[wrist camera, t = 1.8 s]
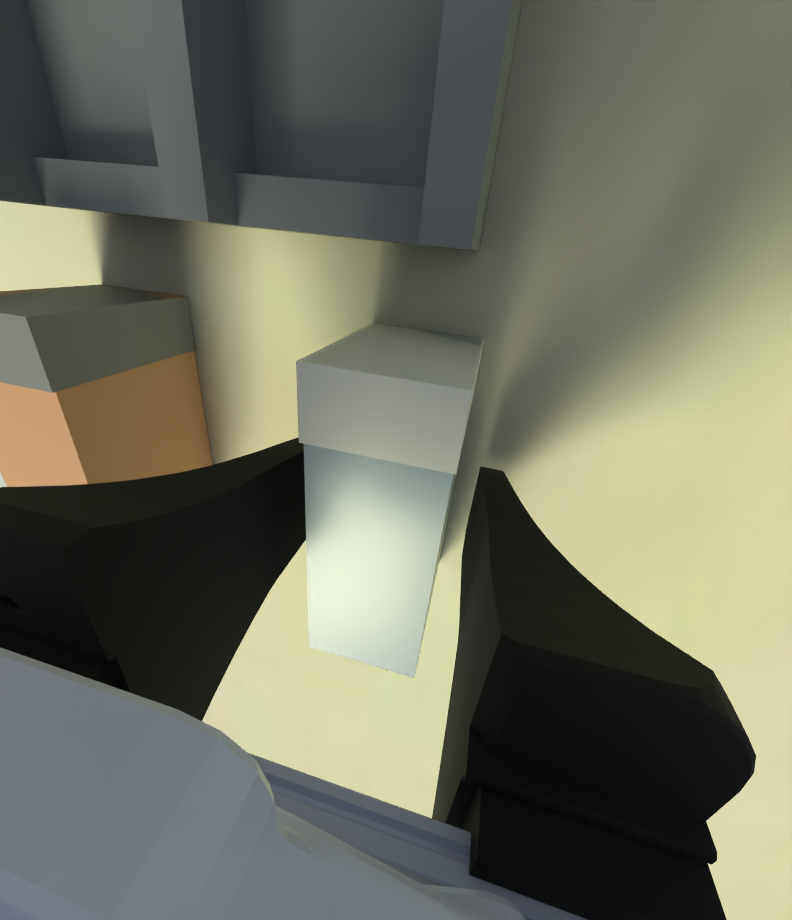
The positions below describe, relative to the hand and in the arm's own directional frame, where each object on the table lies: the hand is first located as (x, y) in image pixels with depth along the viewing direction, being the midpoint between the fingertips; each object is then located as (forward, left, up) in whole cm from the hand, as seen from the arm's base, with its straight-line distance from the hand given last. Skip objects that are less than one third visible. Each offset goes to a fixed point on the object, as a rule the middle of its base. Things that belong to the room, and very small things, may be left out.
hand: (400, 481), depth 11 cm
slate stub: (0, 0, -1) cm, 1 cm away
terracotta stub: (+9, 0, -1) cm, 9 cm away
